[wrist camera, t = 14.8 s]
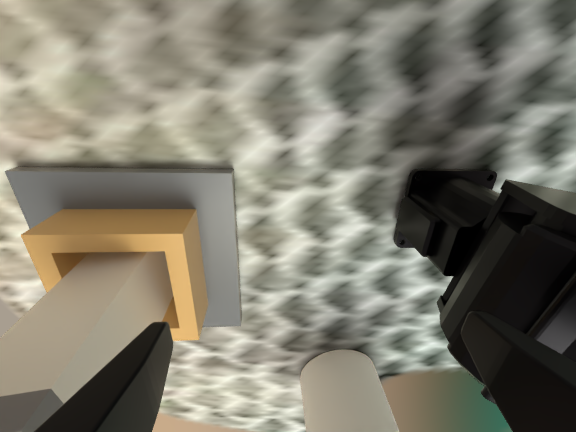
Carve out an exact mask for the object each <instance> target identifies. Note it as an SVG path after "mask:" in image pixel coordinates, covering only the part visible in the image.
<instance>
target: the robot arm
mask: <svg viewBox="0 0 576 432" xmlns="http://www.w3.org/2000/svg"><path fill="white" fill-rule="evenodd" d="M417 174H419V177H418V178H417V179H415V177H416V175H417ZM489 175H490V176H489ZM488 176H489V178H488V179H487V177H488ZM496 178H497V173H496V172H494V171H492V170H475V169H415V170H413V171H412V172H411V173H410V175H409V180H408V184H407V188H406V192H405V196H404V197H403V199H402V202H401V206H400V211H399V215H398V219H397V224H396V228H397V231H396V235H395V239H394V242H395V244H396V245H397V246H398V247H400V248H415V249H416V250H417V251H418V252H419V253H420V254H421V255H422V256H423V257H428V258H429V260H430V261H431V262H432V263H433V264H434V265H435V266H436V267H437V268H438V269H439V270H440V271H441V272H442V273H443V275H444V276H454V277H453V278H452V280H451V282H450V284H449V285H448V287H447V289H446V291H445V293H444V294H443V296H440V298H439V299H438V301H437V305H438V308H439V311H440V324H441V328H442V330H443V332H444V334H445V336H446V338H447V340H448V341H449V344H448V346H447V348H448V350H449V351H450V353H451V354H452V356H453V357H454V358H455V359H456V360H457V361H458V363H459V364H460V365H461V366H462V367H463V368H464V369H465V370H466V371H467V372H468V373H469V374H470V375H471V376H472V377H474V379H476V380H477V381H478V382H479V383H481V384H482V385H483V386H485V387H484V388H483V389H482V391H481V394H482V395H483V397H485V398H486V399H487V400H489V401H491V402H493V403H495V404H496V405H497V406H498V408H499V410H500V411H501V413H502V415H503V416H504V418H505V420H506V421H507V423H508V424H509V426H510V428H511V430H512V431H513V432H576V193H573V192H568V191H563V190H558V189H553V188H548V187H543V186H537V185H532V184H527V183H522V182H517V181H512V180H505V182H504V183H503V185H502V187H501V190H502V191H501V193H500V194H499V193H497V192H495V191H493V190H492V189H493V186H494V183H495V181H496ZM401 240H403V241H402V242H400V241H401ZM399 242H400V243H399ZM172 350H173V340H172V335H171V330H170V326H169V323H168V322H153V323H151V324H150V325H149V326H148V327H146V328H145V329H144V330H143V331H142V332H141V333H140V334H139V335H138V336H137V337H136V338H135V339H133V340H132V341H131V342H130V343H129V344H128V345H127V346H126V347H125V348H124V349H123V350H122V351H120V352H119V353H118V354H117V355H116V356H115V357H114V358H113V359H112V360H111V361H110V362H109V363H107V364H106V365H105V366H104V367H103V368H102V369H101V370H100V371H99V372H98V373H97V374H96V375H94V376H93V377H92V378H91V379H90V380H89V381H88V382H87V383H86V384H85V385H84V386H83V387H81V388H80V389H79V390H78V391H77V392H76V393H75V394H74V395H73V396H72V397H71V398H70V399H68V400H67V401H66V402H65V403H64V404H63V405H62V406H61V407H60V408H59V409H58V410H57V411H55V412H54V413H53V414H52V415H51V416H50V417H49V418H48V419H47V420H46V421H45V422H44V423H42V424H41V425H40V426H39V427H38V428H37V429H36V430H35V431H34V432H152V430H153V426H154V424H155V420H156V417H157V414H158V411H159V407H160V403H161V399H162V395H163V390H164V386H165V381H166V377H167V373H168V368H169V364H170V359H171V355H172Z"/></svg>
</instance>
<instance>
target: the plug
mask: <svg viewBox="0 0 576 432" xmlns="http://www.w3.org/2000/svg"><path fill="white" fill-rule="evenodd" d="M172 297H173V291H172V286H171V281H170V276H169V271H168V265H167V260H166V255H165V251H158V252H90V253H89V254H87V255H86V256H85V257H84V258H83V259H82V260H81V261H80V262H79V263H78V264H77V265H76V266H75V267H74V268H73V269H72V270H71V271H70V272H69V273H68V274H67V275H65V276H64V277H63V278H62V279H61V280H60V281H59V282H58V283H57V284H56V285H55V286H54V287H53V288H52V289H51V290H50V291H49V292H48V293H47V294H46V295H45V296H44V297H42V298H41V299H40V300H39V301H38V302H37V303H36V304H35V305H34V306H33V307H32V308H31V309H30V310H29V311H28V312H27V313H26V314H25V315H24V316H23V317H22V318H20V319H19V320H18V321H17V323H15V324H14V325H13V326H12V327H11V328H10V329H9V330H8V331H7V332H6V333H5V334H4V335H3V336H2V337H1V338H0V432H34V431H35V430H36V429H37V428H38V427H39V426H40V425H41V424H42V423H44V422H45V421H46V420H47V419H48V418H49V417H50V416H51V415H52V414H53V413H54V412H55V411H57V410H58V409H59V408H60V407H61V406H62V405H63V404H64V403H65V402H66V401H67V400H68V399H70V398H71V397H72V396H73V395H74V394H75V393H76V392H77V391H78V390H79V389H80V388H81V387H83V386H84V385H85V384H86V383H87V382H88V381H89V380H90V379H91V378H92V377H93V376H94V375H96V374H97V373H98V372H99V371H100V370H101V369H102V368H103V367H104V366H105V365H106V364H107V363H109V362H110V361H111V360H112V359H113V358H114V357H115V356H116V355H117V354H118V353H119V352H120V351H122V350H123V349H124V348H125V347H126V346H127V345H128V344H129V343H130V342H131V341H132V340H133V339H135V338H136V337H137V336H138V335H139V334H140V333H141V332H142V331H143V330H144V329H145V328H146V327H148V326H149V325H150V324H151V323H153V322H162V320H163V318H164V316H165V313H166V311H167V309H168V306H169V304H170V302H171V300H172Z"/></svg>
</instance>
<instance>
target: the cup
mask: <svg viewBox="0 0 576 432" xmlns="http://www.w3.org/2000/svg"><path fill="white" fill-rule="evenodd" d="M300 383H301V391H302V400H303V409H304V417H305V426H306V432H399V429H398V427H397V424H396V421H395V419H394V416H393V413H392V411H391V408H390V406H389V403H388V400H387V398H386V395H385V393H384V390H383V387H382V385H381V382H380V380H379V377H378V374H377V372H376V369H375V367H374V364H373V362H372V360H371V359H370V358H369V357H368V356H367V355H365V354H363V353H361V352H358V351H354V350H345V349H343V350H334V351H329V352H326V353H323V354H321V355H319V356H317V357H315V358H313V359H312V360H311V361H309V362H308V363H307V364H306V365H305V367H304V368H303V370H302V372H301V375H300Z"/></svg>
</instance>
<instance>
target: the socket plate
mask: <svg viewBox="0 0 576 432" xmlns="http://www.w3.org/2000/svg"><path fill="white" fill-rule="evenodd" d="M5 173H6V175H7V177H8V180H9V182H10V184H11V187H12V189H13V191H14V194H15V196H16V198H17V201H18V203H19V205H20V208H21V210H22V212H23V214H24V217H25V219H26V221H27V224H28V226H29V228H30V230H28V231H26V232H25V233H23V234H21V237H22V239H23V241H24V243H25V246H26V248H27V250H28V252H29V254H30V257H31V259H32V261H33V263H34V266H35V268H36V270H37V272H38V274H39V277H40V279H41V281H42V283H43V285H44V288H45V290H46V292H47V293H48V292H49V291H50V290H51V289H52V288H53V287H54V286H55V285H56V284H57V283H58V282H59V281H60V280H61V279H62V278H63V277H64V276H65V275H67V274H68V273H69V272H70V271H71V270H72V269H73V268H74V267H75V266H76V265H77V264H78V263H79V262H80V261H81V260H82V259H83V258H84V257H85V256H86V255H87V254H89V253H90V252H158V251H165V255H166V260H167V265H168V271H169V276H170V281H171V286H172V291H173V297H172V300H171V302H170V304H169V306H168V309H167V311H166V313H165V316H164V318H163V320H162V322H168V323H169V326H170V330H171V335H172V340H173V341H179V340H199V338H200V334H201V330H202V327H226V326H241V320H242V313H241V295H240V277H239V259H238V241H237V223H236V205H235V187H234V169H164V168H76V167H16V168H13V169H10V170H7V171H5Z"/></svg>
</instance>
